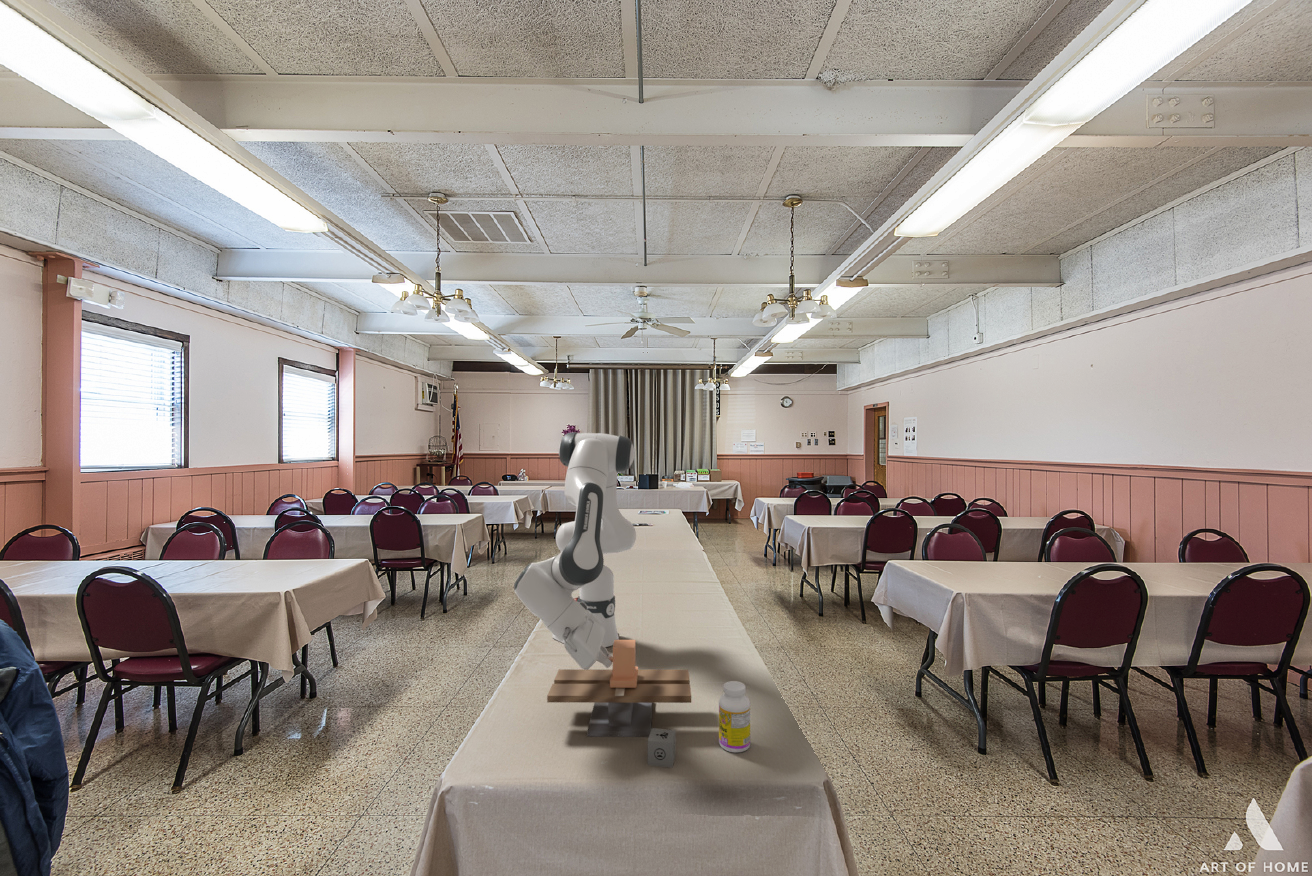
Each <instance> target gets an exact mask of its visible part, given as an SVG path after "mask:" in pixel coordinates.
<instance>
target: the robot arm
mask: <svg viewBox="0 0 1312 876" xmlns="http://www.w3.org/2000/svg"><path fill="white" fill-rule="evenodd" d="M633 443H634V442H633V441H632V440H631V439H630V437H626V436H624V435H623V436H622V435H616V434H615V435H614V434H609V433H603V432H597V433H596V432H577V431H574V432H567V433H565V434H564V435H563V436H562V437H561V440H560V443H559V445H558V456H559V461H560V463H562V465H563V466H565V467H567V468H566V469H567V470H566V475H565V479H564V481H565V482H564V497H565V498H566V500H567V502H568V503H569V504H571V505H572V506H574V507H575V509H576V510H575V511H576V512H575V518H574V521H569V522H564V523H562V524H561V525H560V526H559V527H558V529H557V531H556V534H555V544H556V546H557V548H558V550H559V551H560V553H558V554H557V555H555V556H552V557H550V558H547V559H544V560H542V561H538V562H530V563H528V564H527V565H526V566H525V567H524V568H523V570H522V571H521V573H520V574H519V575H518V577H517V579H516V580H515V581H514V584H513V590H514V593H515V595H516V596H517V597H518V599H519V600H520V601H521V602H522V604H523V605H524V606H525V607H526V608H527V610H529V612H530V613H532V615H533V616H535V617H537V618H539V619H540V620H541V621H542V622H543V625H544V626H545V628H547V630H549V632H550V633H551V634H552V636H551V637H552V639H554V640H556V641H558V642H560V643H562V644H563V645H564V649H565V651H566V652H567V653H568V654H569V656H570V657H571V658H572V659H573V661H575V662H576V663H577V665H578V666H579V667H580V668H581V669H582V670H590V668H591V667H592V666H594V664H595V663H596V662H598V663H600V664H602V665H603V666H604V667H605V668H608V669H610V667H611V666H613V655H611V653H610V652H609V651H608V649H607V648H608V647H612V646H613V644H614V640H620V637H619V634H618V629H617V628H618V627H617V624H616V615H615V611H616V596H615V594H614V593H615V591H614V590H615V589H614V587H615V585H614V584H615V579H614V578H615V577H614V571H612V569H611V568H610V567H608V566H607V565H605V563H604V555H605V554H619V553H622V552H625V551H626V552H627V551H629V550H631V549H632V548H633V547H634V545H635V542H636V541H637V540H636V539H637V532H636V527H635V526H634V525H633V524H632V522H631V521H630V520H628V519H627V518H626V517H625V516H623V514H622V513H621V511H620V510H619V507H618V501H617V500H618V499H617V497H618V496H617V488H618V487H617V485H618V473H622V472H627V470H629V469H630V468H631V466H632V464H633V462H634V459H635V456H636V455H635V451H636V450H635V448H634V444H633ZM577 590H579V595H578V597H575V598H573V596H572V595H573V593H574V592H575V591H577Z"/></svg>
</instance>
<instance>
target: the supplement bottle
mask: <svg viewBox="0 0 1312 876" xmlns="http://www.w3.org/2000/svg"><path fill="white" fill-rule="evenodd" d="M722 688H723V689H722V690H723V694H721V696H720V697H719V698H718V699H719V700H718V743H719V746H720V747H721V748H722V749H723V750H725V751H727V752H729V753H735V754H737V753H742V752H743V753H744V752H745V751H747V750H748V749H749V748H750V746H751V701H750V699H749V697H748V696H747V695H746V692H747V691H746V684H745V683H743V682H741V681H737V680H731V681H726V682H725V683H723V687H722Z"/></svg>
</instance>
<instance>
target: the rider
mask: <svg viewBox="0 0 1312 876" xmlns="http://www.w3.org/2000/svg"><path fill="white" fill-rule="evenodd" d="M636 649H637V648H636V639H619V640H614V644H613V645H612V657H613V662H612V669H611V670H612V674H611V679H610V688H636V687H637V677H638V670H639V666H637V665H636V660H637V659H636Z"/></svg>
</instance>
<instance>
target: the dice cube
mask: <svg viewBox="0 0 1312 876" xmlns="http://www.w3.org/2000/svg"><path fill="white" fill-rule="evenodd" d="M676 733H677V732H676V729H667V728H666V729H665V728H658V727H657V728H656V727H651V732H650V735H649V737H648V738H647V766H650V765H652V766H651V767H654V766H655V767H662V768H671V769H672V768H673V766H674V762H675V759H676V753H677V747H676V741H677V739H676V738H677V735H676Z"/></svg>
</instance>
